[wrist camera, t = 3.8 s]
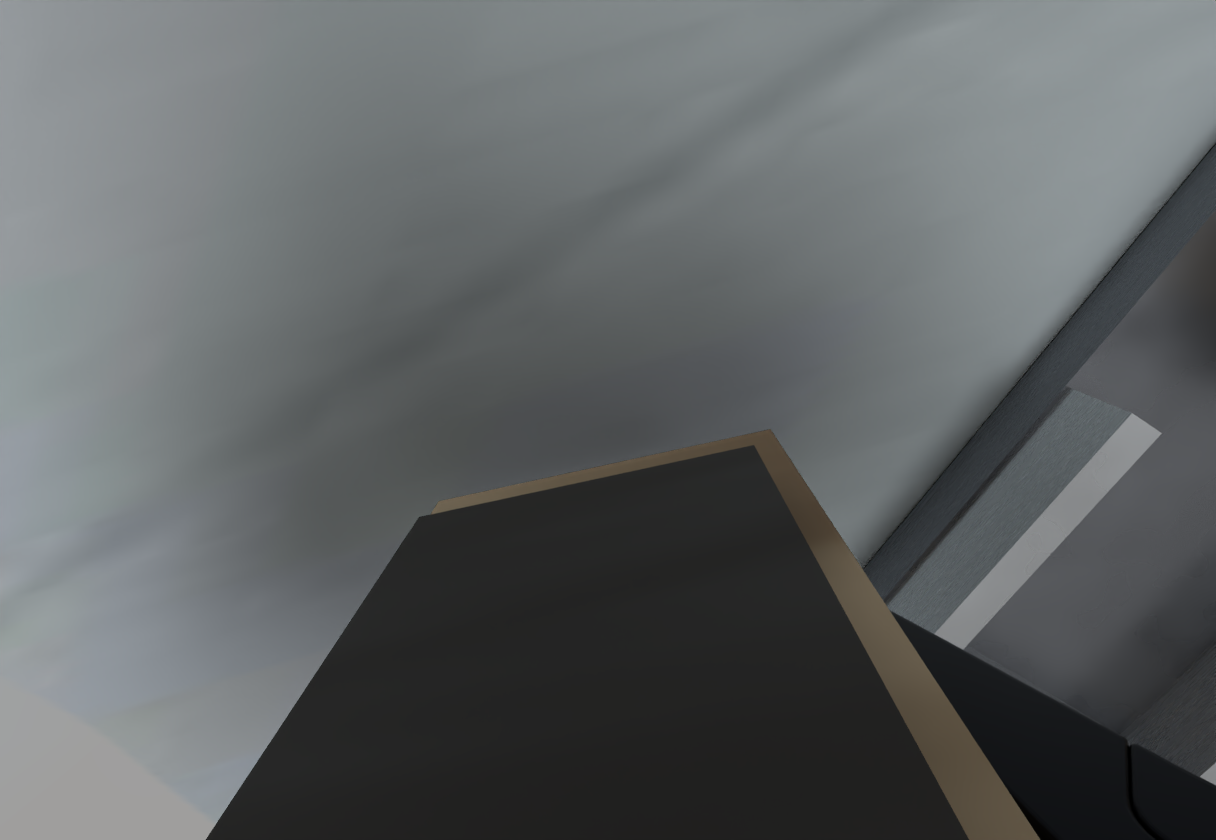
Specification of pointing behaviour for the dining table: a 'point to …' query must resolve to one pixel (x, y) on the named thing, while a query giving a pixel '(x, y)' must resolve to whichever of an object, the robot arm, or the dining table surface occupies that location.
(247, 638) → the dining table surface
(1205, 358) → the rail
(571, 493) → the block
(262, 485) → the dining table surface
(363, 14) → the dining table surface
